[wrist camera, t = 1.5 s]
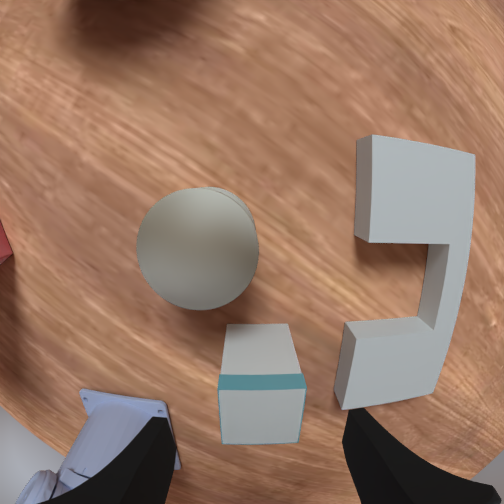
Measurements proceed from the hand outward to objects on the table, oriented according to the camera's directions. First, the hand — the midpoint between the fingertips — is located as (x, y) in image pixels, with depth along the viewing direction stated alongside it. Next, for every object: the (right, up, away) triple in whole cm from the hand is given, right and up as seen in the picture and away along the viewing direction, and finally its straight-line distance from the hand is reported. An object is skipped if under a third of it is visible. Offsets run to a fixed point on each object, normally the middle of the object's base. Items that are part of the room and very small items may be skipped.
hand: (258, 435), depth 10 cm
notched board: (+10, +5, +9) cm, 14 cm away
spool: (-3, +8, +8) cm, 12 cm away
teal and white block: (0, +1, +10) cm, 10 cm away
